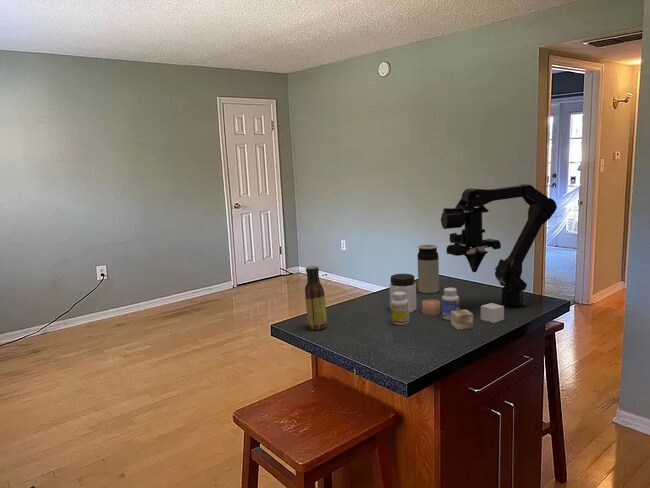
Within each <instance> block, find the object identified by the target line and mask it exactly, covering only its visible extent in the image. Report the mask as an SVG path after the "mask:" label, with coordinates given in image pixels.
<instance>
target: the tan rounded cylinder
mask: <svg viewBox="0 0 650 488" xmlns="http://www.w3.org/2000/svg"><path fill="white" fill-rule="evenodd" d="M421 307H422V308H421V310H422V311H421V313H422V314H423V315H424V316H431V317H433V316H438V315H440V314H441V301H440V300H439V299H435V298H430V299H429V298H426V299H423V300H422V301H421Z"/></svg>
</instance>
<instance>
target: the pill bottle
mask: <svg viewBox="0 0 650 488" xmlns="http://www.w3.org/2000/svg"><path fill="white" fill-rule="evenodd" d="M457 292H458V290H457V288H455V287H446V288H443V293H444V294H443V295H442V296H441V305H442V310H441V311H442V312H441V313H442V319H443V320H446V321H451V311H455V310H460V297H459V295H458V294H457Z"/></svg>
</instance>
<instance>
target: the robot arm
mask: <svg viewBox="0 0 650 488" xmlns="http://www.w3.org/2000/svg"><path fill="white" fill-rule="evenodd" d="M516 198H522V199H523V201H524V202H525V203H526V204H527V205H528V206H529V207H528V210H527V220H526V222H525V224H524V226H523V228H522V230H521V232H520V234H519V236H518V238H517V240H516V242H515V244H514V246H513V247H512V250H511V252H510V254H509V255H508V257H507V258H506V259H502V258H500V259H499V260H498V265H496V267H495V268H494V270H495V272H494V276H495V279H496V280H497V281H498V283H499V284H500V286H503V287H502V288H501V289H502V292H501V301H499V302H498V305H501V306H504V307H506V308H510V309H514V308H515V309H516V308H522V307H525V306H527V303H525V302H524V296H523V295H524V291H526V289H527V286H528V284H527V283H526V282H525V281H524V280H523V279H522V278H521V276H522V273H523V263H524V261H525V258H526V257H527V255H528V253H529V251H530V249H531V247H532V245H533V244H534V241H535V239H536V237H537V235H538V234H539V232H540V231H541V228H542V226H543V225H544V224H545V223H546V222H548V221H549V220H550V219H551V218H552V216H554V214H555V212H556V210H557V207H558V206H557V203H556V201H555V200H554V199H553V198H550V197H548V196H547V195H545V194H544V193H543V192H541V191H539V190H538V189H536V188H535V187H534V186H533V185H531V184H524V183H523V184H519V185H513V186H506V187H499V188H497V187H496V188H489V189H487V188H486V189H485V188H472V187H471V188H470V187H469V188H466V189H465V190H464V191H463V192H462V194H461V198H460V200H459V201H458V203H457V204H456V206H455V207H454V208H453V207H451V208H449V207H444V208H443V209H442V210H443V211H442V213H441V217H440V223H441V224H440V225H441V227H442V229H444V230H447V229H449V230H450V229H459V228H460V229H461V228H462V227H463V226H464V228H462V229H461V233H459V234H458V233H456V232H453V233H450V234H449V242H450V245H447V247H446V249H445V250H446V254H448V255H451V256H458V257H459V256H464V257H465V258H466V260H467V262H468V264H469V267H470V270H471V272H472V273H477V271H478V269H479V267H480V265H481V264H482V261H483V260H484V258H485V257H486V254H488V253H489V252H488V251H487V250H486V248H492V250H499V249H501V248H502V245H501V242H500V240H499V239H494V238H485V239H484V238H483V237H484V235H483V233H484V234H485V233H486V229H484V228H483V213H489V211H490V210H489V209H488V208H486V207H485V205H487V204H489V203H491V202H495V201H502V200H507V199H508V200H509V199H510V200H511V199H516Z"/></svg>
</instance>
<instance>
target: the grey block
mask: <svg viewBox="0 0 650 488" xmlns="http://www.w3.org/2000/svg"><path fill="white" fill-rule="evenodd" d="M480 320H482V321H485V322H488V321H489V322H488V323H492V324H495V323H497V322H500V321H503V320H505V306H504V305H501V304H498V303H497V304H496V303H494V302H493V303H492V302H490V303H487V304H483V305H480Z"/></svg>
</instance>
